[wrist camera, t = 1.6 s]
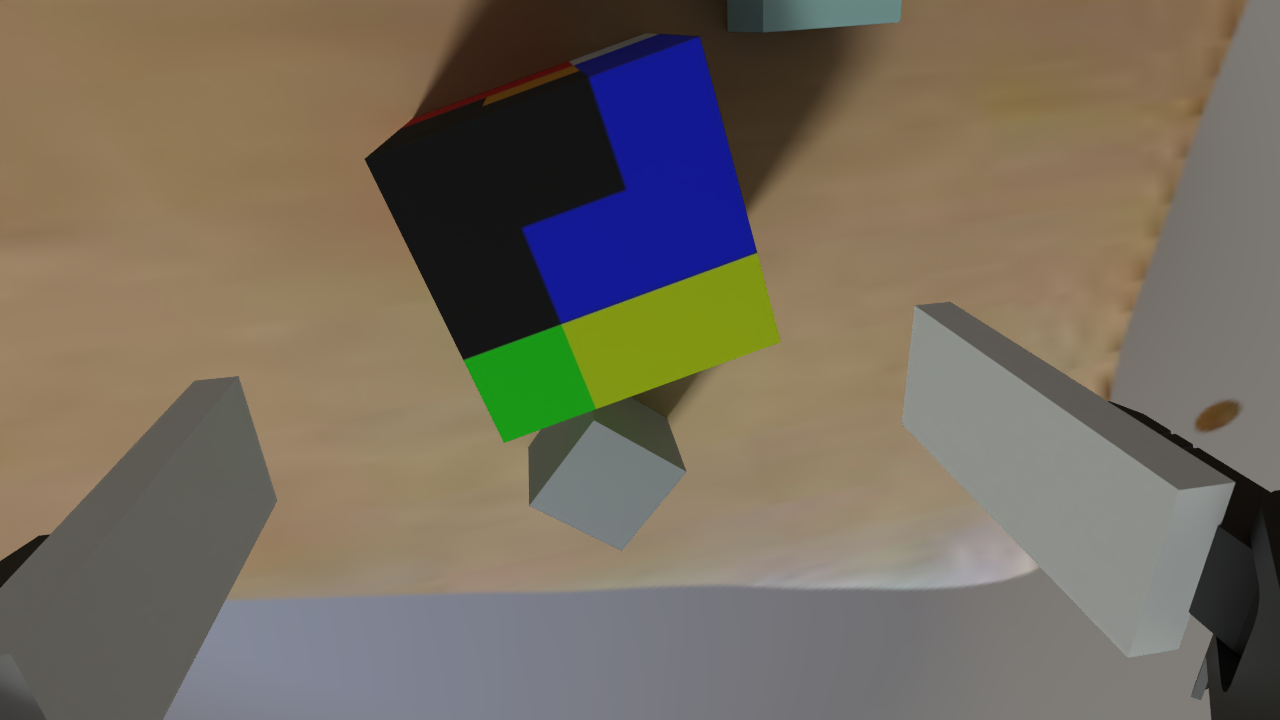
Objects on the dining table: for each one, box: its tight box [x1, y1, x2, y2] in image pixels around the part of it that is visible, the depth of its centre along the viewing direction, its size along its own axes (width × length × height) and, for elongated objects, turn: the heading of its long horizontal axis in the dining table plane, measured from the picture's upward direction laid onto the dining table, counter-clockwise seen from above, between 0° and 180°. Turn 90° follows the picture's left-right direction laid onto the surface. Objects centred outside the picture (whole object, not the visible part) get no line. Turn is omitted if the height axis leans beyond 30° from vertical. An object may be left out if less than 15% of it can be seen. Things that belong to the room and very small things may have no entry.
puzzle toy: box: [365, 33, 781, 443], centre depth 27 cm, size 10×10×10 cm
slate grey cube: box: [528, 397, 686, 551], centre depth 35 cm, size 5×5×5 cm
